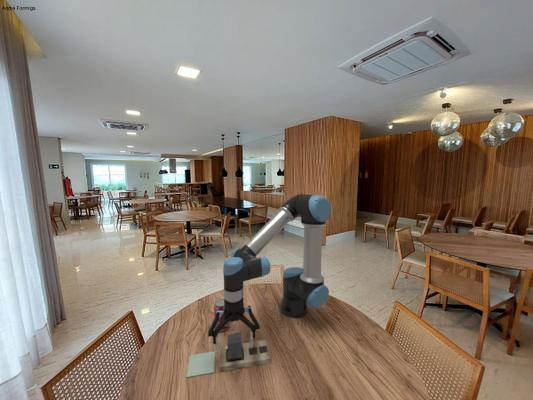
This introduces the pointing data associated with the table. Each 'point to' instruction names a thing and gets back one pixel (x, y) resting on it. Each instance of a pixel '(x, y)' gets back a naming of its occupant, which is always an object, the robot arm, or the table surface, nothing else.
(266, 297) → the table surface
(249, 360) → the plate
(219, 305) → the soda can
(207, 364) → the mat
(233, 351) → the block
